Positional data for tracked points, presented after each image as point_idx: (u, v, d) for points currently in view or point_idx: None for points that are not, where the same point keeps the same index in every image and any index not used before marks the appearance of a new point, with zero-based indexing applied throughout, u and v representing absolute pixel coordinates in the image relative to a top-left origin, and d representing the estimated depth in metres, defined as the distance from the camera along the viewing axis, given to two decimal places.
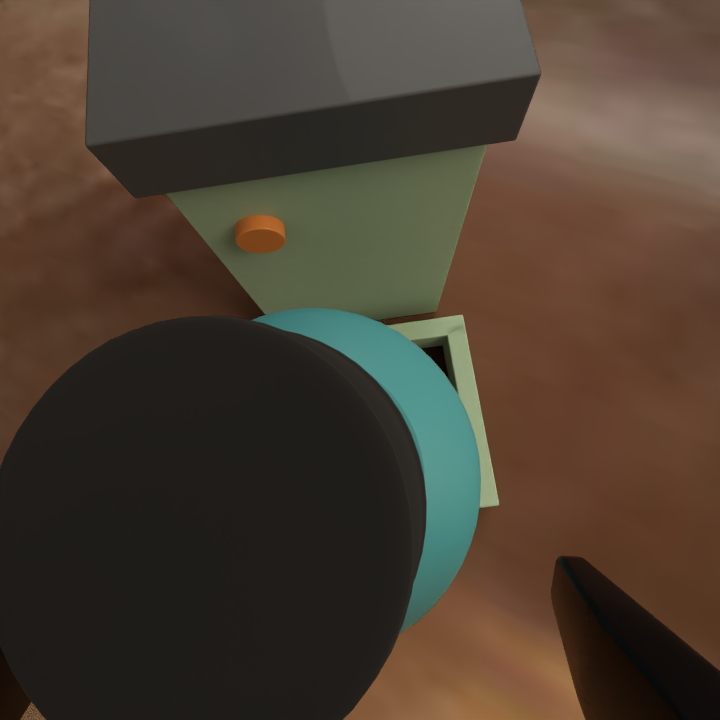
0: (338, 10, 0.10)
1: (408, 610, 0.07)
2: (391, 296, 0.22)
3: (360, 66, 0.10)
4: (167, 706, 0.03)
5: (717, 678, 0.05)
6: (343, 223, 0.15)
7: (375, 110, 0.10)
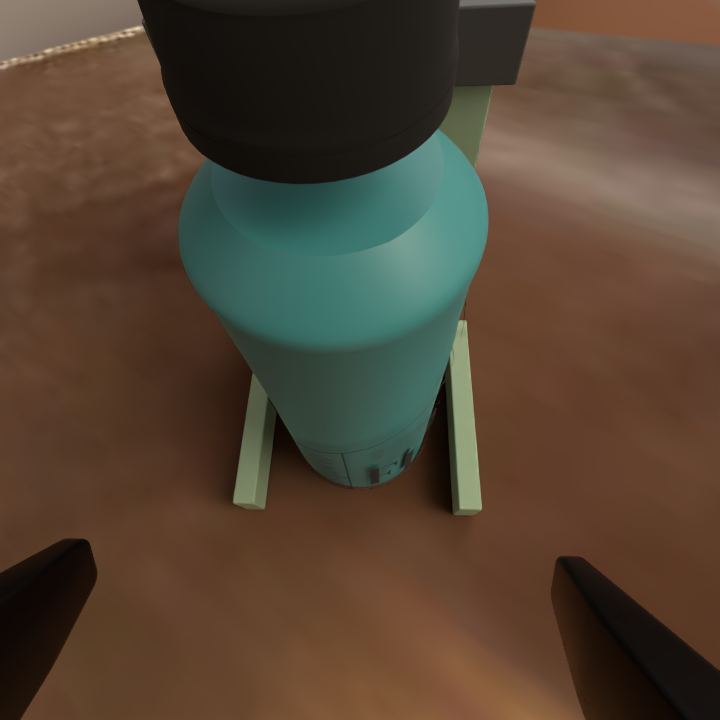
0: None
1: (412, 289, 0.07)
2: None
3: None
4: None
5: (717, 678, 0.05)
6: None
7: None
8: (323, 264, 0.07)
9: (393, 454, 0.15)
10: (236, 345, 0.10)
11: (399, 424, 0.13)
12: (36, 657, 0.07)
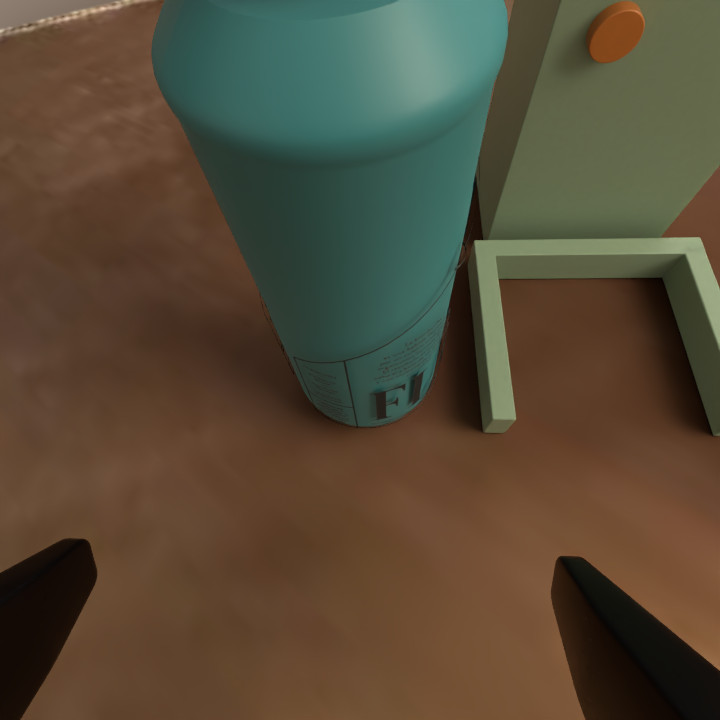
0: None
1: (419, 72, 0.06)
2: (633, 203, 0.21)
3: None
4: None
5: (717, 678, 0.05)
6: (691, 41, 0.15)
7: None
8: (313, 30, 0.06)
9: (401, 374, 0.14)
10: (223, 205, 0.09)
11: (406, 321, 0.11)
12: (36, 657, 0.07)
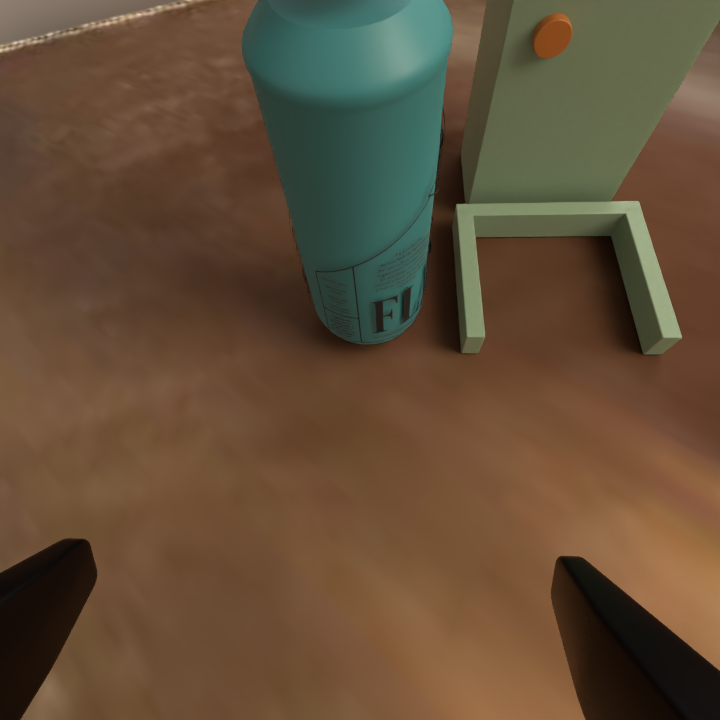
0: None
1: (397, 57, 0.11)
2: (584, 172, 0.26)
3: None
4: None
5: (717, 678, 0.05)
6: (609, 42, 0.20)
7: None
8: (341, 34, 0.11)
9: (394, 286, 0.19)
10: (277, 145, 0.14)
11: (396, 233, 0.17)
12: (36, 657, 0.07)
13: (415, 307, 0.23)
